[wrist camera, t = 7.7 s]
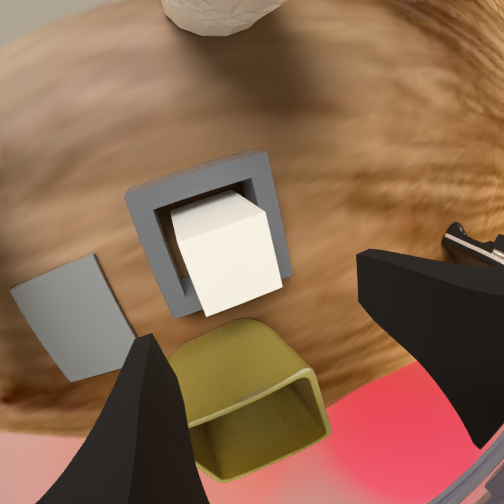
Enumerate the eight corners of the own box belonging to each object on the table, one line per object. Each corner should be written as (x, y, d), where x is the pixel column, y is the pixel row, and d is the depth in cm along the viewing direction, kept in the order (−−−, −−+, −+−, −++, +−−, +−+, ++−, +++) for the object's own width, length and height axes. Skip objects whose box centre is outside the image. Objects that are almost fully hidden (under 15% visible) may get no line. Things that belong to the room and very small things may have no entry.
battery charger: (470, 239, 29) (541, 275, 19) (457, 265, 30) (527, 306, 20) (453, 210, 26) (540, 247, 16) (439, 240, 27) (524, 284, 16)
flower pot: (255, 284, 21) (315, 367, 13) (285, 360, 25) (334, 435, 17) (146, 334, 20) (154, 436, 12) (196, 400, 24) (221, 485, 16)
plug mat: (11, 288, 15) (9, 290, 15) (94, 252, 17) (93, 255, 16) (71, 379, 19) (70, 382, 19) (148, 356, 20) (148, 359, 20)
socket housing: (128, 189, 16) (123, 197, 14) (252, 149, 18) (268, 151, 15) (170, 299, 19) (174, 321, 17) (277, 260, 21) (294, 276, 19)
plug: (190, 266, 19) (206, 317, 14) (169, 210, 17) (177, 242, 12) (246, 246, 20) (282, 287, 15) (231, 189, 18) (265, 211, 13)
